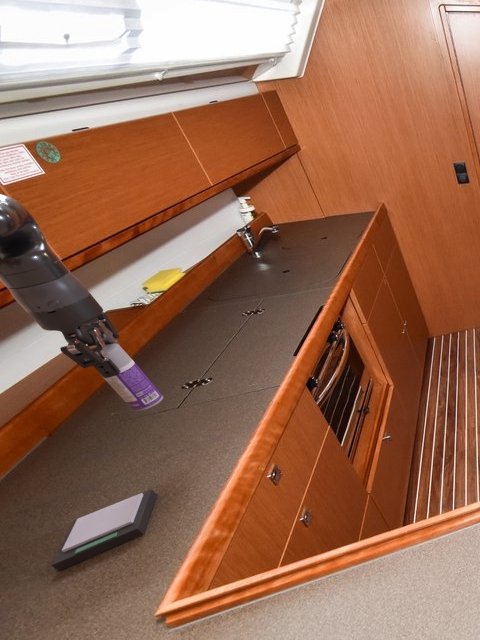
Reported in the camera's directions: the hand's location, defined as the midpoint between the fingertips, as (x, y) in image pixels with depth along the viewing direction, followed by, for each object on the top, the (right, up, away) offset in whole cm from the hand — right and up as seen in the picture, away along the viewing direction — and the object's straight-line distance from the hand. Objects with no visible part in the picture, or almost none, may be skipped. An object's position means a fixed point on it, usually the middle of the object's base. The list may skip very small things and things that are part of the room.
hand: (117, 368), depth 84 cm
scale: (+4, -32, -4) cm, 32 cm away
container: (0, -9, +5) cm, 11 cm away
